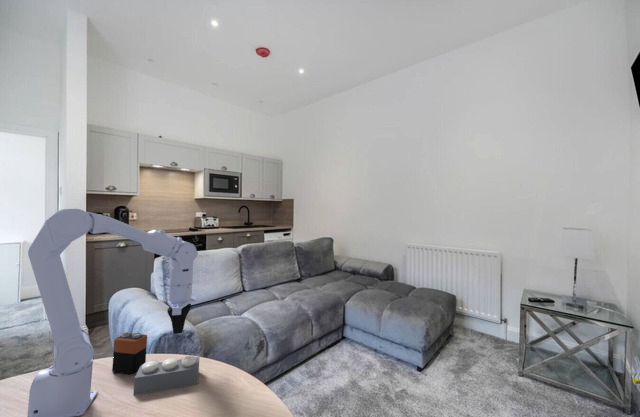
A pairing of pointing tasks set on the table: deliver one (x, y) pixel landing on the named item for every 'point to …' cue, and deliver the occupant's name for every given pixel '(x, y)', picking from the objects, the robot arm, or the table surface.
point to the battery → (129, 353)
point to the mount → (166, 378)
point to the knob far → (188, 361)
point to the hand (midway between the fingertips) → (178, 332)
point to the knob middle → (169, 364)
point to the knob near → (149, 366)
